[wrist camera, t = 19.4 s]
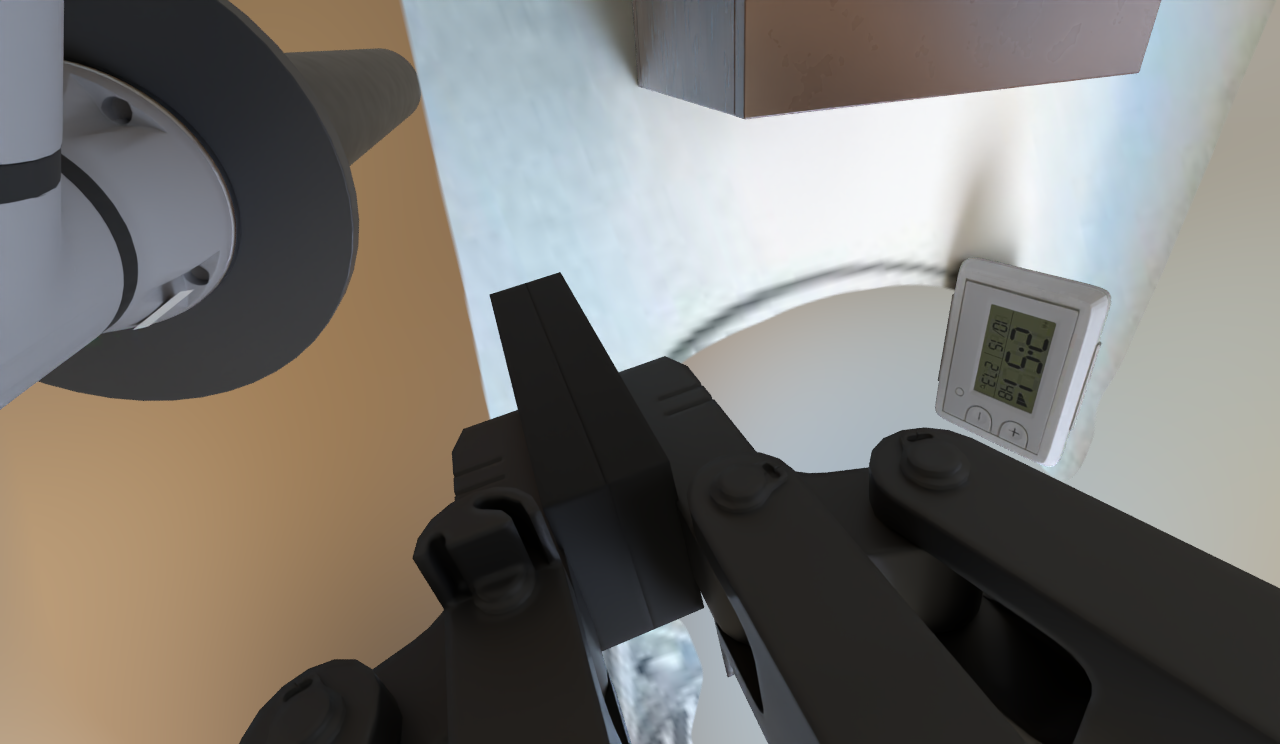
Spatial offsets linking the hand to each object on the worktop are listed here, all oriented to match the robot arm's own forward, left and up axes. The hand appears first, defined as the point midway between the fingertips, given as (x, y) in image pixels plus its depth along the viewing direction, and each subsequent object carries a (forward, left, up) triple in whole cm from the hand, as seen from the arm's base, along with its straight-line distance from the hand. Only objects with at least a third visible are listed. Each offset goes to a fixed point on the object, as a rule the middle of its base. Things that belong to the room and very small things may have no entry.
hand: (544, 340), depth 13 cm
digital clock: (+37, -21, -30) cm, 52 cm away
